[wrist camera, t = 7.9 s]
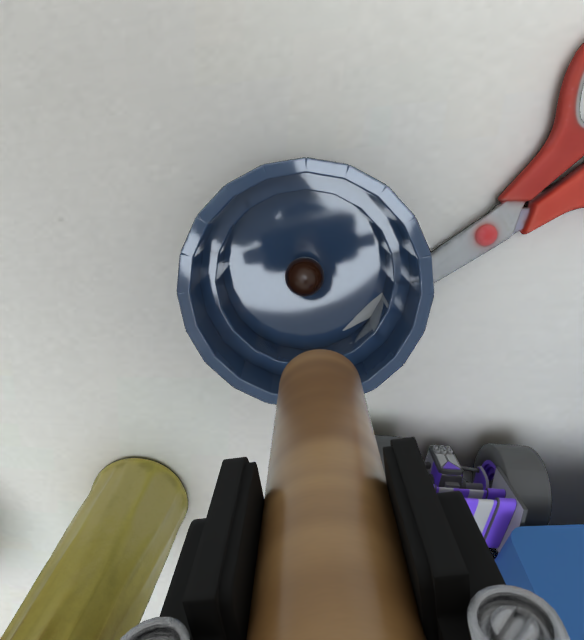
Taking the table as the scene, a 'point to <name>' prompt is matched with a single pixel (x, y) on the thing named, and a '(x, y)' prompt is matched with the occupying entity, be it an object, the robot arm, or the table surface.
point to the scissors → (524, 189)
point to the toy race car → (493, 486)
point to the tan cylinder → (328, 518)
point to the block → (549, 569)
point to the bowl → (294, 242)
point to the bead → (304, 276)
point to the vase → (106, 557)
